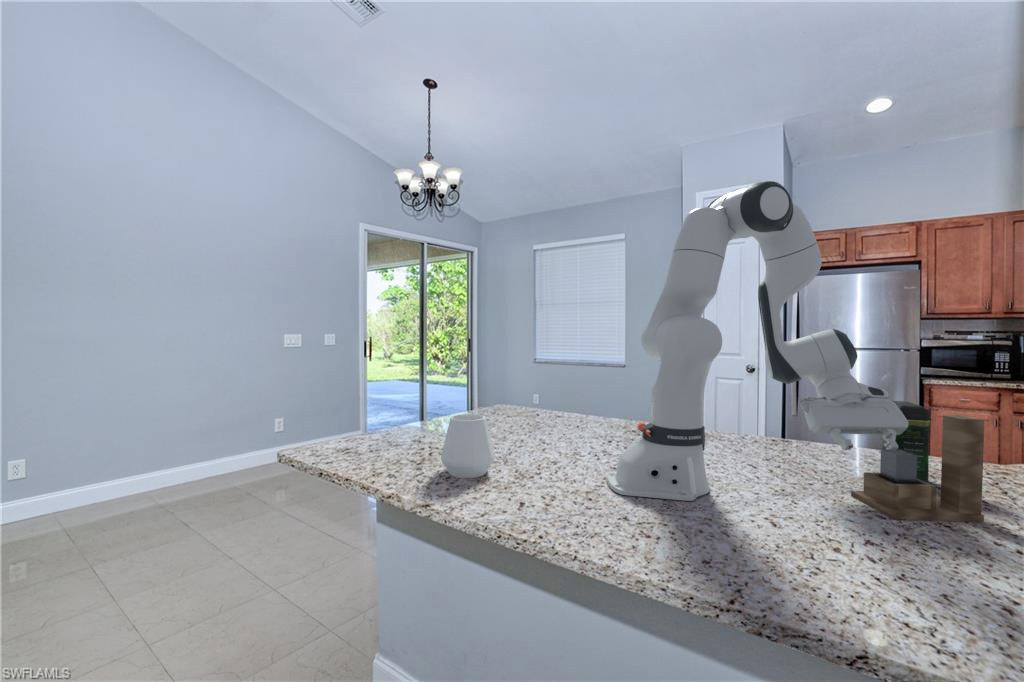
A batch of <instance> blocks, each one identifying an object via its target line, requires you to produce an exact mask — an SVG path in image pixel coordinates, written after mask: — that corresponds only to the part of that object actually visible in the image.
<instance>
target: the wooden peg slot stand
mask: <svg viewBox="0 0 1024 682" xmlns="http://www.w3.org/2000/svg"><path fill="white" fill-rule="evenodd" d="M985 421H986V420H985V419H983V418H978V417H974V416H969V415H964V414H963V415H962V414H959V415H957V414H955V415H953V414H951V415H950V414H949V415H948V414H947V415H946V414H944V415H942V439H941V440H942V441H941V467H940V468H941V471H940V473H941V475H940V476H941V477H940V496H938V495H937V490H938V489H937V487H938V486H937V485H934V484H932V483H930V482H925V481H922V480H919V479H917V482H916V484H894V483H892V482H890V481H887V480H885V479H883V478H880V472H872V471H871V472H870V471H869V472H863V490H851V492H850V497H852V498H853V499H855V498H856V500H857V499H858V501H859V502H860V503H863V504H865V505H867V506H868V505H869V506H868V507H870V506H871V508H873V509H875V511H878V512H879V513H881V514H883V513H884V514H883V515H885V514H886V516H887V515H888V517H889V518H891V519H893V520H895V519H903V520H902V521H935V522H936V521H937V522H939V521H940V522H944V521H945V522H982V523H984V522H985V515H984V514H982V507H983V503H982V502H983V478H984V477H983V475H984V474H983V473H984V449H985V448H984V444H985ZM904 519H906V520H904Z"/></svg>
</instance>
